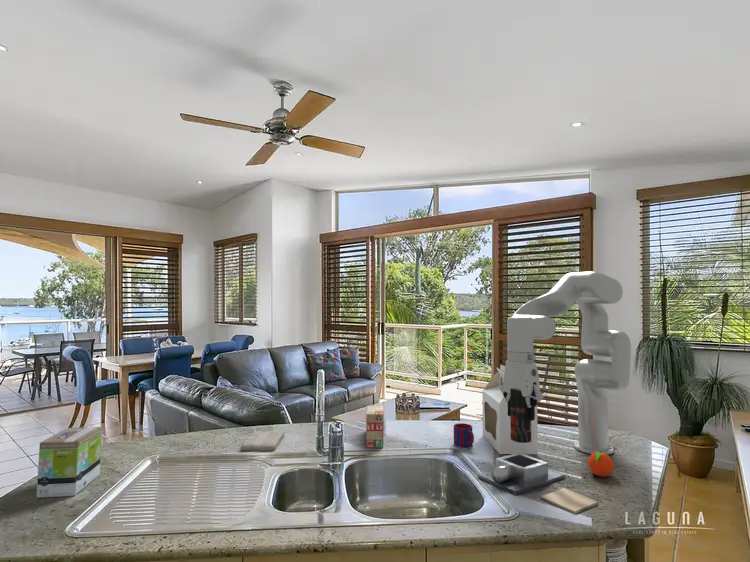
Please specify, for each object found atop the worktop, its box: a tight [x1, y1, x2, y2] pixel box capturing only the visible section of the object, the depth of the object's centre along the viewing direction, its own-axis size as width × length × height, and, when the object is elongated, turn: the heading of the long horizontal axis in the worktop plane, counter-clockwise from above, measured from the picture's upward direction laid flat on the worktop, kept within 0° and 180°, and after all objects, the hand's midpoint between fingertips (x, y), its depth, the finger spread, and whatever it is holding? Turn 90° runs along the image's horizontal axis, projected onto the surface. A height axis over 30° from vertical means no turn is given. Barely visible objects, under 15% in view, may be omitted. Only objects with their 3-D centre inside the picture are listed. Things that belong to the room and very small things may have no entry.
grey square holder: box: [477, 452, 566, 496], centre depth 133 cm, size 22×14×5 cm, turn 123°
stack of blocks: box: [365, 405, 385, 449], centre depth 171 cm, size 21×6×12 cm, turn 0°
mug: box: [453, 422, 475, 449], centre depth 162 cm, size 7×10×7 cm
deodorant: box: [510, 389, 531, 443], centre depth 134 cm, size 6×6×15 cm
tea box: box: [36, 426, 103, 498], centre depth 127 cm, size 15×10×15 cm, turn 9°
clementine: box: [587, 452, 615, 478], centre depth 135 cm, size 8×7×7 cm
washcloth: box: [242, 430, 286, 452], centre depth 165 cm, size 12×18×3 cm, turn 1°
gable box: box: [481, 364, 539, 455], centre depth 165 cm, size 22×13×28 cm, turn 2°
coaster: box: [540, 487, 599, 515], centre depth 118 cm, size 10×10×1 cm
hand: (520, 417), depth 134 cm, fingers closed on deodorant, 6 cm apart
